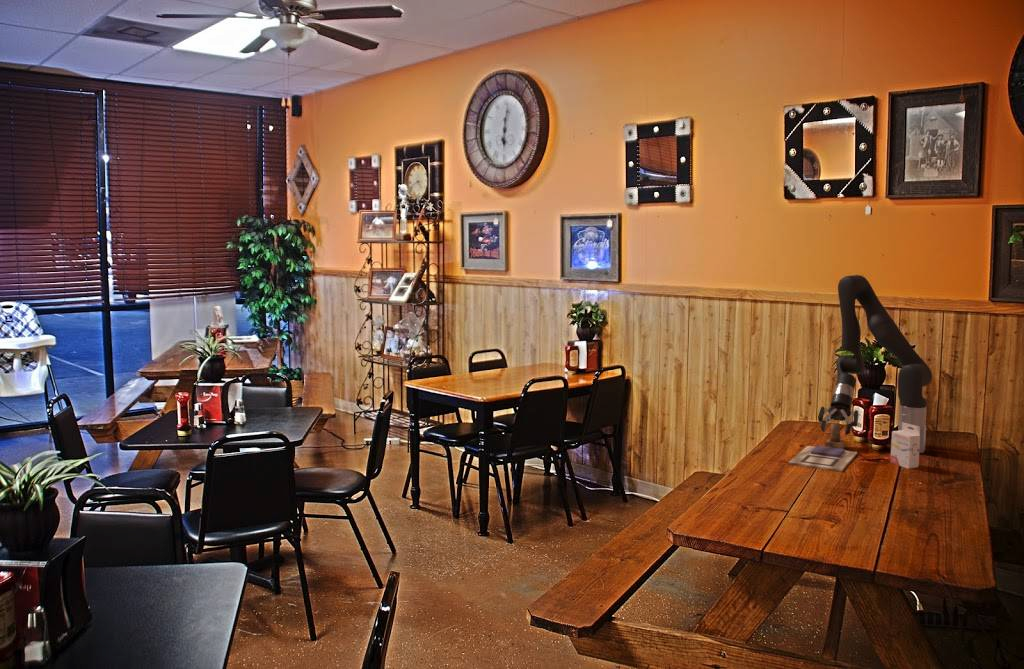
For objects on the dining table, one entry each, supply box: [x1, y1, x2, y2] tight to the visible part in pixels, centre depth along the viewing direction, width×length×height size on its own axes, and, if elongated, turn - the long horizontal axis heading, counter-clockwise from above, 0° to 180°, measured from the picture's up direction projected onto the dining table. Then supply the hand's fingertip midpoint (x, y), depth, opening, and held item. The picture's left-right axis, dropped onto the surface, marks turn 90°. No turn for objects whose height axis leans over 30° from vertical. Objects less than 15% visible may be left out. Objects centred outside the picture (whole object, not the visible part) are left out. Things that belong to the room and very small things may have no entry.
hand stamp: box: [824, 422, 846, 449], centre depth 321 cm, size 6×6×9 cm
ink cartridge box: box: [889, 422, 920, 470], centre depth 297 cm, size 9×5×15 cm, turn 22°
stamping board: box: [788, 445, 858, 472], centre depth 306 cm, size 18×28×2 cm, turn 147°
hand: (834, 432), depth 321 cm, fingers open, 8 cm apart
